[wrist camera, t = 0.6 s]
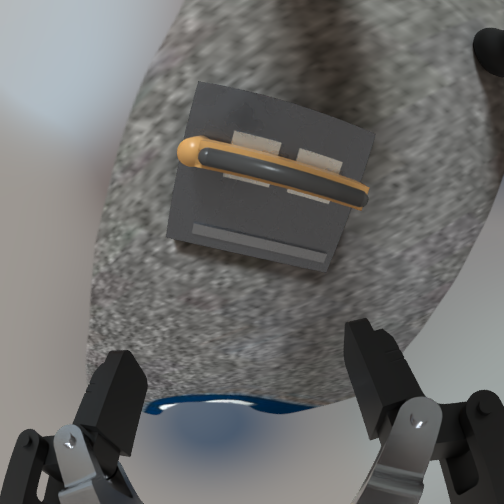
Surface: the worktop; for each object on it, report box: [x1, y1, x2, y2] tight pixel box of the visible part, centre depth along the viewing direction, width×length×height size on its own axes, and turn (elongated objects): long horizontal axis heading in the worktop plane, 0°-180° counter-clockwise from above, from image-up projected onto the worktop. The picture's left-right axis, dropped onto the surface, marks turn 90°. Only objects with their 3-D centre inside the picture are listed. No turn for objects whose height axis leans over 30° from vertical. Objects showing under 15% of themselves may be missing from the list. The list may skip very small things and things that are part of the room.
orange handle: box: [177, 135, 369, 211], centre depth 26 cm, size 3×18×7 cm, turn 76°
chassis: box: [166, 81, 376, 273], centre depth 31 cm, size 18×20×3 cm
